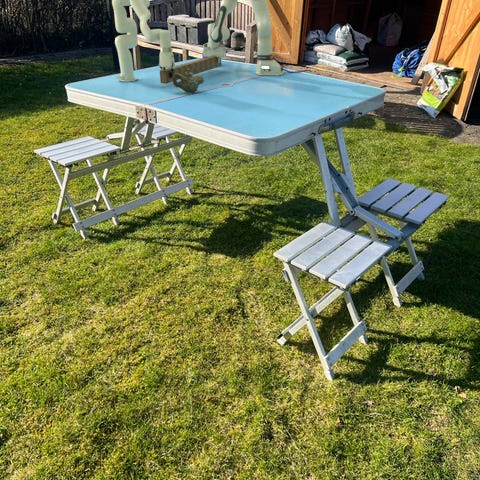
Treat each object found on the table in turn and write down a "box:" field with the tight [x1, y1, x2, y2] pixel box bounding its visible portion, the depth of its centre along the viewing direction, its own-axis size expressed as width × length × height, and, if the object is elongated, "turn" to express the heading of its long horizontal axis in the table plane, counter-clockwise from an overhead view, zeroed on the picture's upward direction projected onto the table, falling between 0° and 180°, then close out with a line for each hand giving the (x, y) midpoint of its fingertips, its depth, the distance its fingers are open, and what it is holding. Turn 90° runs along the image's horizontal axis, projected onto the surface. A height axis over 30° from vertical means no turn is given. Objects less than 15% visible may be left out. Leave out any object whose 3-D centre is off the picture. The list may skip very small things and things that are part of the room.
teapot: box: [172, 69, 205, 94], centre depth 298 cm, size 21×12×15 cm, turn 109°
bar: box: [159, 56, 222, 85], centre depth 344 cm, size 77×5×8 cm, turn 152°
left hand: (167, 77), depth 320 cm, fingers closed on bar, 4 cm apart
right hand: (215, 62), depth 369 cm, fingers closed on bar, 5 cm apart
